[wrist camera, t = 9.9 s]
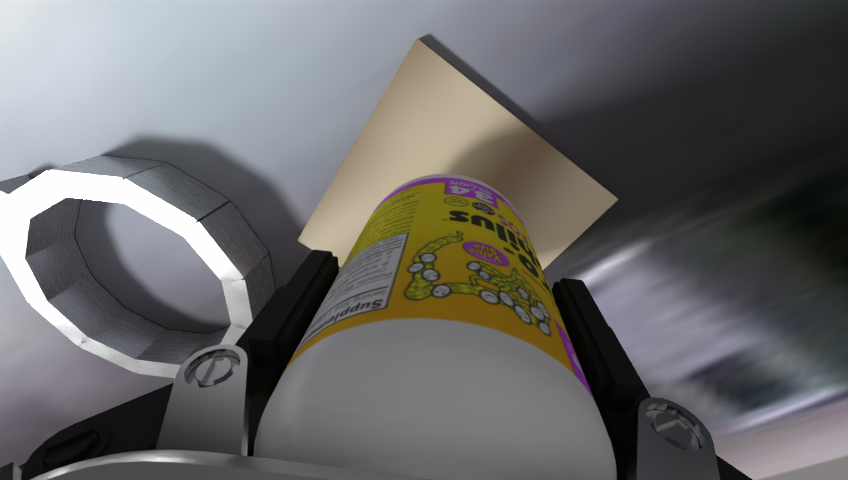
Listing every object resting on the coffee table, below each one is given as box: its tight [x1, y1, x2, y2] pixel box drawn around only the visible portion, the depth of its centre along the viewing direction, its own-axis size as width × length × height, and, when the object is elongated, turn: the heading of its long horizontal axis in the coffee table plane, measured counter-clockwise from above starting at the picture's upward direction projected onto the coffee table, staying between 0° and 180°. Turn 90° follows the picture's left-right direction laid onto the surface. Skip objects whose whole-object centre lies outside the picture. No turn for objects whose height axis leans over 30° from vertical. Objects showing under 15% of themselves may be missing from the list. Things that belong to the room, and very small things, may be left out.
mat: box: [297, 39, 618, 270], centre depth 17 cm, size 11×11×1 cm
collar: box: [0, 155, 275, 378], centre depth 19 cm, size 15×12×2 cm
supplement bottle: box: [254, 174, 617, 480], centre depth 9 cm, size 7×7×13 cm
